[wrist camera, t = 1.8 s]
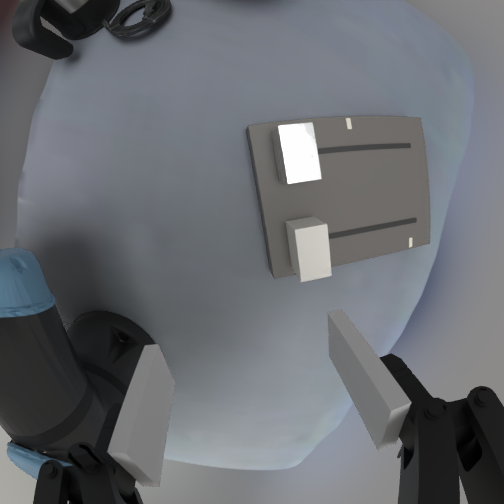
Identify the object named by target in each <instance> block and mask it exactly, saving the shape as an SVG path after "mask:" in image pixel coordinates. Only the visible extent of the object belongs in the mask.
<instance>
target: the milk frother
mask: <svg viewBox="0 0 504 504" xmlns="http://www.w3.org/2000/svg"><path fill="white" fill-rule="evenodd" d="M19 1H20V3H19V5H18V8H17V10H16V12H15V15H14V17H13V22H12V33H13V37H14V39H15V41H16V42H17V43H18V44H19V45H20V46H22V47H24V48H26V49H29V50H32V51H34V52H37V53H39V54H42V55H44V56H47V57H49V58H52V59H55V60H58V59H62V58H66V57H68V56H70V55H71V54H72V52H73V45H72V44H70V43H69V42H68V41H66V40H64V39H63V38H61V37H59V36H58V35H56V34H55V33H53V32H52V31H50V30H48V29H46V28H45V27H43V26H42V23H41V20H40V16H41V17H42V18H44V19H45V20H46V21H48V22H49V23H50V24H52V25H53V26H54V27H55V28H56V29H58V30H59V31H60V32H61V34H62V35H63V36H64V37H65V38H67V39H70V40H76V39H81V38H84V37H87V36H89V35H91V34H93V33H94V32H96V31H98V30H99V29H100V28H102V27H103V26H105V28H106V29H107V30H108V31H109V32H110V33H111V34H113V35H114V36H118V37H122V36H129V35H133V34H136V33H138V32H141V31H143V30H145V29H147V28H149V27H151V26H152V25H154V24H156V23H157V22H159V21H160V20H161V19H163V18H164V17H165V16H166V15H167V14H168V13H169V11H170V10H171V2H170V0H139V1H136V2H134V3H132V4H131V5H129V6H128V7H126V8H125V9H124V10H122V11H121V12H120V13H119V14H118V15H117V16H116V17H115V18H114V20H113V21H112V23H111V25H109V23H108V21H109V20H110V19H111V18H112V17H113V15H114V14H115V12H116V10H117V8H118V6H119V2H120V0H19ZM144 5H145V11H144V13H143V15H144V17H143V18H142V21H141V22H139V23H137V24H134V25H131V26H127V27H125V26H121V25H120V23H121V21H122V20H123V19H124V18H125V17H126V16H127V15H128V14H129V13H130V12H132V11H133V10H135V9H137V8H139V7H141V6H144Z"/></svg>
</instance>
